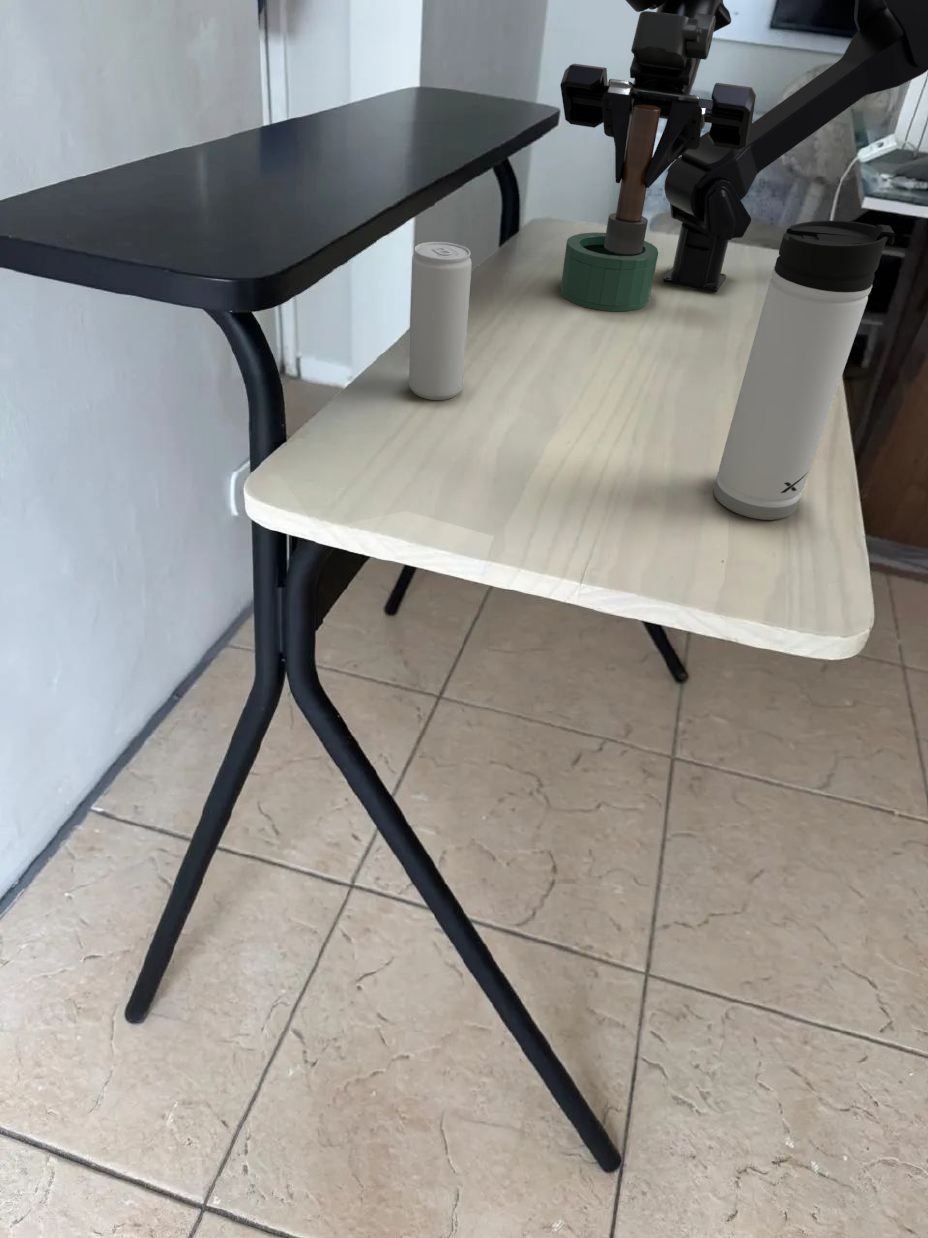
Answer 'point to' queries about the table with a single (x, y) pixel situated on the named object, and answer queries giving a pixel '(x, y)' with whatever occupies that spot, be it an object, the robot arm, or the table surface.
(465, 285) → the beverage can
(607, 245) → the brush
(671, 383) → the table surface
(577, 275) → the jar
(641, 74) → the robot arm
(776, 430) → the travel mug
